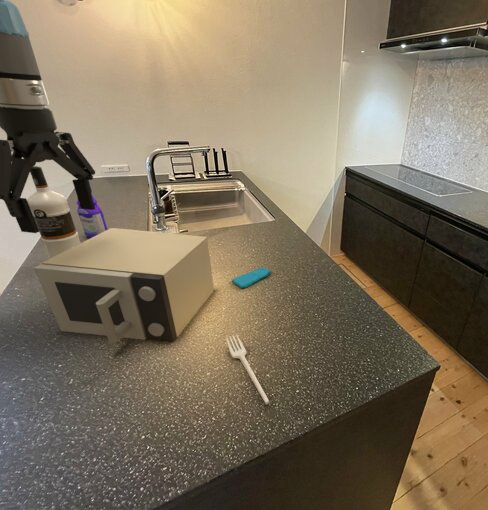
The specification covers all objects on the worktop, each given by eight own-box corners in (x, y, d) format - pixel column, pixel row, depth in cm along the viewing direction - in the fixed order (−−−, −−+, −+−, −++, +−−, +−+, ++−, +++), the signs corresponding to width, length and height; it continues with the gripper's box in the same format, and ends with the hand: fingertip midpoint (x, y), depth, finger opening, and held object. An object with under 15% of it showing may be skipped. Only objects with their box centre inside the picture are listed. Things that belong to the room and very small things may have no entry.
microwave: (171, 345, 69) (156, 280, 61) (59, 333, 69) (30, 268, 62) (214, 290, 89) (207, 236, 81) (126, 281, 89) (111, 227, 82)
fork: (259, 409, 56) (259, 402, 55) (225, 343, 70) (224, 337, 69) (276, 401, 58) (275, 394, 57) (238, 338, 72) (238, 332, 71)
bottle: (81, 237, 112) (66, 190, 104) (95, 231, 117) (81, 187, 109) (99, 240, 111) (85, 193, 103) (112, 234, 116) (99, 189, 108)
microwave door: (129, 357, 64) (108, 291, 57) (39, 347, 65) (6, 281, 57) (149, 335, 71) (132, 273, 63) (66, 326, 71) (40, 264, 63)
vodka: (96, 259, 99) (66, 165, 85) (72, 273, 91) (34, 171, 77) (69, 256, 99) (34, 162, 86) (42, 270, 91) (-1, 168, 77)
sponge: (274, 273, 97) (264, 265, 101) (241, 287, 89) (230, 277, 92) (274, 277, 98) (264, 269, 101) (241, 291, 90) (230, 281, 93)
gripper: (-41, 110, 43) (19, 246, 52) (97, 107, 65) (121, 203, 74) (-92, 105, 43) (-23, 242, 52) (63, 103, 65) (91, 199, 75)
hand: (62, 219), depth 63 cm, fingers open, 13 cm apart
